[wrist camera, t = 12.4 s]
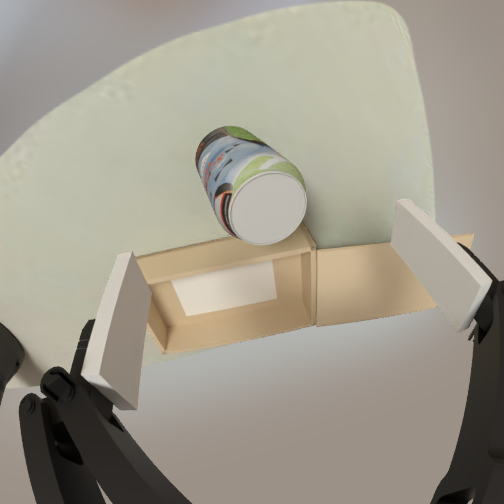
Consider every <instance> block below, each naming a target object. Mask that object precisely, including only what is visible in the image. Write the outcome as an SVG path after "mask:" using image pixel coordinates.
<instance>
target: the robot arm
mask: <svg viewBox="0 0 504 504" xmlns="http://www.w3.org/2000/svg"><path fill="white" fill-rule="evenodd" d="M390 245H391V246H392V247H393V248H394V250H395V251H396V252H397V253H398V254H399V256H400V257H401V258H402V259H403V261H404V262H405V263H406V264H407V266H408V267H409V268H410V269H411V271H412V272H413V273H414V275H415V276H416V277H417V278H418V280H419V281H420V282H421V284H422V285H423V286H424V288H425V289H426V290H427V292H428V293H429V294H430V296H431V297H432V298H433V300H434V301H435V303H436V304H437V305H438V307H439V308H440V309H441V311H442V312H443V314H444V315H445V317H446V318H447V319H448V321H449V323H450V324H451V326H452V327H453V329H454V330H455V332H456V333H459V332H461V331H463V330H465V329H467V328H469V326H470V324H471V322H472V321H473V319H475V320H476V322H477V324H476V326H475V328H474V329H473V331H472V333H471V334H470V336H469V338H468V340H471V338H472V337H473V335H474V340H473V342H474V348H473V359H472V368H471V376H470V383H469V390H468V396H467V402H466V407H465V412H464V417H463V422H462V426H461V430H460V434H459V438H458V442H457V445H456V449H455V452H454V455H453V459H452V462H451V465H450V468H449V471H448V473H447V474H446V476H445V477H444V478H443V479H442V480H441V482H440V484H439V485H438V487H437V489H436V491H435V493H434V496H433V498H432V501H431V503H430V504H467V503H468V502H469V501H470V500H471V499H473V498H474V499H473V502H472V504H504V281H500V282H499V281H498V280H497V279H496V277H495V276H494V275H493V274H492V273H491V272H490V271H489V269H488V268H487V267H486V266H485V265H484V264H483V263H482V262H480V260H479V259H478V258H477V257H476V256H474V254H473V253H472V252H471V251H470V249H469V248H467V247H466V246H464V245H462V244H461V243H459V242H457V243H456V242H455V241H454V240H453V239H452V238H451V237H450V236H449V235H448V234H447V233H446V232H445V231H444V230H443V229H442V228H441V227H440V226H439V225H437V223H435V222H434V221H433V220H432V219H431V218H430V217H429V216H428V215H427V214H425V213H424V212H423V211H422V210H421V209H420V208H419V207H417V206H416V205H415V204H414V203H413V202H411V201H410V200H409V199H408V198H407V199H400V200H396V206H395V214H394V222H393V229H392V236H391V243H390ZM151 296H152V292H151V290H150V288H149V286H148V284H147V282H146V280H145V278H144V276H143V273H142V271H141V269H140V267H139V265H138V263H137V261H136V258H135V256H134V254H133V252H132V251H130V252H126V253H122V254H118V257H117V259H116V262H115V264H114V267H113V270H112V272H111V275H110V278H109V281H108V283H107V286H106V289H105V292H104V295H103V298H102V301H101V304H100V307H99V310H98V313H97V317H96V319H93V320H89V321H88V322H87V324H86V325H85V327H84V328H83V329H82V332H81V336H80V339H79V340H80V342H78V346H77V350H76V353H75V356H74V360H73V363H72V367H71V371H70V374H69V373H68V372H67V371H66V370H65V369H64V368H62V367H59V366H58V367H53V368H51V369H49V370H48V371H47V372H46V373H45V374H44V376H43V378H42V380H41V384H40V389H41V392H42V393H43V394H44V395H45V396H47V397H46V398H44V399H41V398H40V397H38V396H37V395H36V394H33V393H30V394H27V395H26V396H25V397H24V398H23V399H22V401H21V402H20V405H19V420H20V428H21V436H22V442H23V448H24V454H25V459H26V464H27V469H28V473H29V478H30V482H31V486H32V489H33V493H34V496H35V500H36V503H37V504H106V503H105V500H104V498H103V496H102V493H101V491H100V489H99V486H98V484H97V482H98V483H99V485H100V486H101V488H102V489H103V491H104V492H105V494H106V495H107V496H108V498H109V499H110V501H111V502H112V503H113V504H192V503H191V502H190V501H189V500H187V498H186V497H184V495H183V494H182V493H181V492H179V490H178V489H177V488H176V487H175V486H174V485H173V484H172V483H171V482H170V481H169V480H168V479H167V478H166V477H165V476H164V475H163V474H162V473H161V471H160V470H159V469H158V468H157V467H156V466H155V465H154V464H153V462H152V461H151V460H150V459H149V458H148V457H147V455H146V454H145V453H144V452H143V450H142V449H141V448H140V447H139V446H138V444H137V443H136V442H135V440H134V439H133V438H132V437H131V435H130V434H129V433H128V431H127V430H126V429H125V427H124V426H123V425H122V423H121V422H120V420H119V419H118V418H117V416H116V415H115V414H114V413H113V412H112V409H113V404H114V405H115V406H116V407H117V408H118V409H120V410H137V406H138V394H139V382H140V373H141V365H142V356H143V348H144V341H145V334H146V327H147V320H148V314H149V308H150V302H151ZM23 359H24V351H23V349H22V347H21V345H20V344H19V342H18V341H17V340H16V338H15V337H14V336H13V335H12V334H11V333H10V332H9V331H8V330H7V329H6V328H5V327H4V326H3V325H1V324H0V405H1V401H2V397H3V393H4V390H5V387H6V385H7V383H8V382H9V381H10V380H11V378H12V377H13V376H14V375H15V373H16V372H17V371H18V370H19V368H20V367H21V365H22V362H23ZM96 480H97V481H96Z"/></svg>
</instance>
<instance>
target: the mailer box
mask: <svg viewBox="0 0 504 504" xmlns="http://www.w3.org/2000/svg"><path fill="white" fill-rule="evenodd" d="M135 258H136V261H137V263H138V265H139V267H140V269H141V271H142V273H143V276H144V278H145V280H146V282H147V284H148V286H149V288H150V290H151V292H152V296H151V302H150V308H149V314H148V320H147V327H146V329H147V331H148V332H149V334H150V335H151V337H152V339H153V340H154V342H155V343H156V345H157V346H158V348H159V349H160V351H161V352H162V354H169V353H177V352H184V351H190V350H197V349H203V348H209V347H215V346H220V345H226V344H231V343H237V342H242V341H247V340H252V339H257V338H261V337H266V336H271V335H276V334H280V333H284V332H289V331H293V330H297V329H301V328H305V327H310V326H314V325H316V285H317V267H316V244H315V242H314V240H313V239H312V237H311V235H310V234H309V232H308V230H307V228H306V227H305V225H304V223H303V222H301V223H300V224H299V226H298V227H297V228H296V229H295V231H294V232H293V233H291V234H290V235H289V236H288V237H286V238H284V239H283V240H281V241H279V242H276V243H273V244H269V245H254V244H250V243H247V242H245V241H243V240H240V239H238V238H235V237H234V236H231V237H226V238H221V239H217V240H212V241H207V242H202V243H198V244H193V245H188V246H184V247H179V248H175V249H170V250H166V251H161V252H156V253H152V254H147V255H143V256H139V257H135Z"/></svg>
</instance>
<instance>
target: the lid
mask: <svg viewBox="0 0 504 504" xmlns="http://www.w3.org/2000/svg"><path fill="white" fill-rule="evenodd" d="M450 237H451V238H452V239H453V240H454V241H455V242H456V243H457V242H459V243H461V244H462V245H464V246H466V247H467V248H469V249H470V247H471V244H472V241H473V238H474V234H473V233H470V234H462V235H453V236H450ZM390 243H391V242H387V243H378V244H369V245H359V246H350V247H340V248H331V249H321V250H317V312H316V326H317V327H320V326H328V325H336V324H343V323H351V322H358V321H365V320H371V319H378V318H384V317H390V316H395V315H401V314H406V313H412V312H417V311H422V310H427V309H432V308H436V307H438V305H437V304H436V303H435V301H434V300H433V298H432V297H431V296H430V294H429V293H428V292H427V290H426V289H425V288H424V286H423V285H422V284H421V282H420V281H419V280H418V278H417V277H416V276H415V275H414V273H413V272H412V271H411V269H410V268H409V267H408V266H407V264H406V263H405V262H404V261H403V259H402V258H401V257H400V256H399V254H398V253H397V252H396V251H395V250H394V248H393V247H392V246H391V245H390Z"/></svg>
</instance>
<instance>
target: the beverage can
mask: <svg viewBox="0 0 504 504" xmlns="http://www.w3.org/2000/svg"><path fill="white" fill-rule="evenodd" d="M195 159H196V167H197V170H198V173H199V175H200V178H201V180H202V183H203V185H204V188H205V190H206V193H207V195H208V198H209V200H210V202H211V205H212V207H213V210H214V212H215V215H216V217H217V219H218V221H219V223H220V224H221V226H222V227H223V228H224V230H226V231H227V232H228V233H229V234H230V235H232V236H234V237H235V238H238V239H240V240H243V241H245V242H247V243H250V244H254V245H269V244H273V243H276V242H279V241H281V240H283V239H284V238H286V237H288V236H289V235H290V234H291V233H293V232H294V231H295V229H296V228H297V227H298V226H299V224H300V223H301V221H302V219H303V217H304V215H305V212H306V207H307V197H306V191H305V184H304V180H303V178H302V176H301V173H300V172H299V171H298V169H297V168H296V167H295V166H294V165H293V164H292V163H291V162H290V161H289V160H287V159H286V158H285V157H283V156H282V155H280V154H279V153H278V152H276V151H275V150H274V149H272V148H271V147H270V146H268V145H267V144H265V143H264V142H263V141H261V140H260V139H258V138H257V137H256V136H254V135H253V134H251V133H250V132H248V131H247V130H245V129H243V128H240V127H235V126H225V127H221V128H218V129H216V130H214V131H212V132H210V133H209V134H208V135H207V136H206V137H205V138H204V139H203V140H202V141H201V143H200V145H199V147H198V149H197V152H196V158H195Z"/></svg>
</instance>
